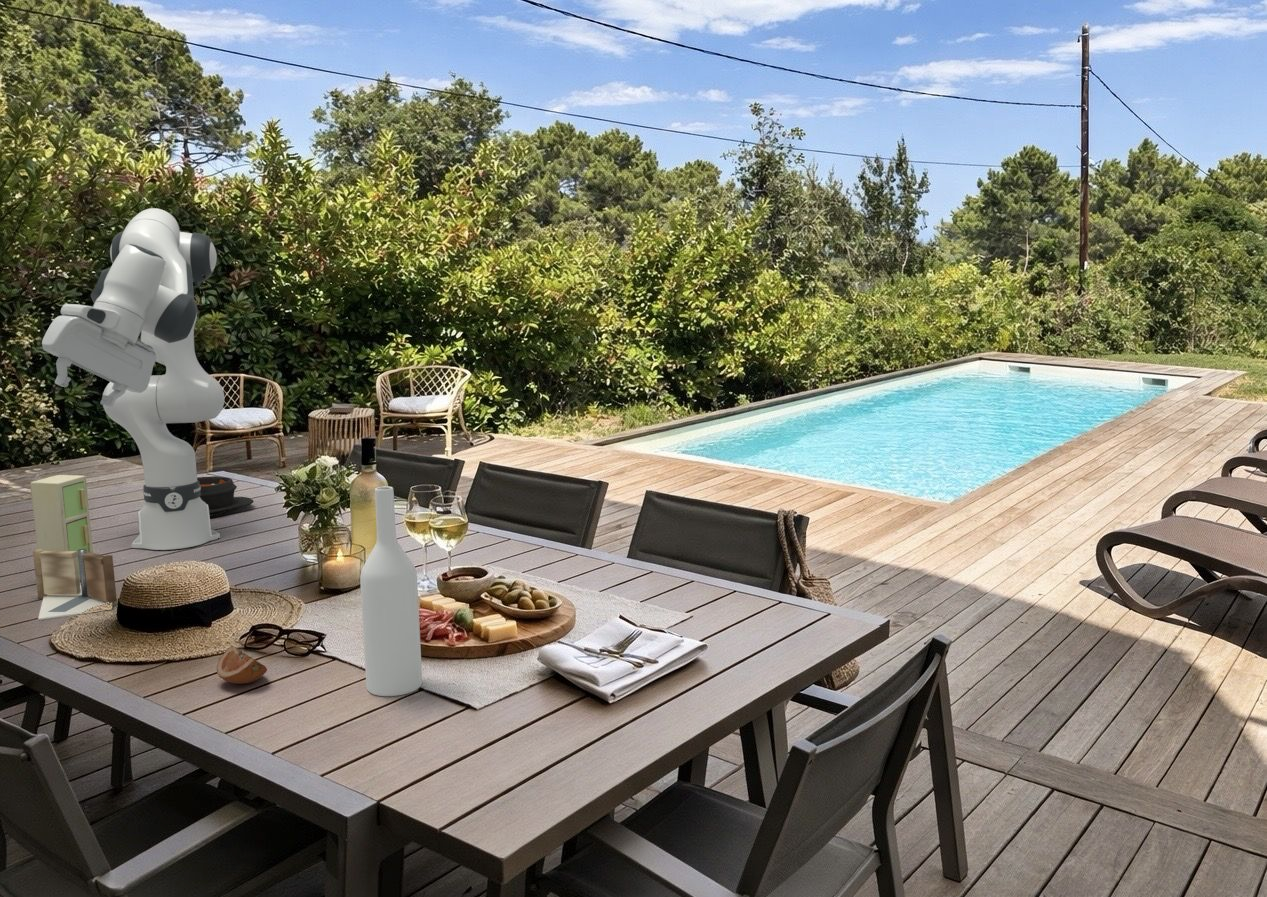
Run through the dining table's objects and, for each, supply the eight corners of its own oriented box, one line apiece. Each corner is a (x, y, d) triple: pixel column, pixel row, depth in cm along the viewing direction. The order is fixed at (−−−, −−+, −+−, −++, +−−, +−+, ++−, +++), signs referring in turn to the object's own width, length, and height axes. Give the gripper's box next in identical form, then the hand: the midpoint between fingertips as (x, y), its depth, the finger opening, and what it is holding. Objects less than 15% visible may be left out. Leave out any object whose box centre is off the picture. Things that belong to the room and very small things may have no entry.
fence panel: (86, 596, 199) (81, 551, 197) (95, 593, 200) (91, 549, 199) (109, 603, 194) (105, 557, 193) (119, 600, 196) (114, 555, 194)
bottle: (371, 700, 149) (359, 495, 145) (362, 681, 157) (350, 485, 152) (427, 691, 153) (418, 490, 148) (416, 672, 160) (406, 480, 155)
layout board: (45, 589, 206) (45, 587, 206) (113, 581, 211) (113, 579, 211) (38, 620, 187) (38, 618, 187) (112, 610, 193) (112, 608, 193)
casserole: (244, 500, 288) (242, 471, 287) (262, 512, 273) (259, 481, 271) (146, 512, 275) (143, 481, 273) (158, 526, 259) (155, 493, 258)
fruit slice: (276, 684, 156) (274, 653, 155) (232, 697, 152) (229, 664, 151) (253, 670, 162) (251, 639, 161) (210, 681, 158) (207, 650, 157)
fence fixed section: (93, 596, 201) (88, 548, 200) (88, 599, 200) (83, 551, 198) (41, 595, 202) (36, 548, 201) (35, 598, 200) (30, 550, 199)
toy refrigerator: (71, 585, 209) (60, 482, 205) (39, 584, 210) (28, 481, 207) (99, 574, 216) (89, 475, 213) (68, 573, 218) (58, 474, 214)
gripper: (148, 349, 202) (120, 415, 198) (54, 300, 185) (22, 371, 181) (169, 352, 199) (141, 419, 195) (76, 302, 182) (44, 374, 178)
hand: (83, 395), depth 188 cm, fingers open, 8 cm apart
